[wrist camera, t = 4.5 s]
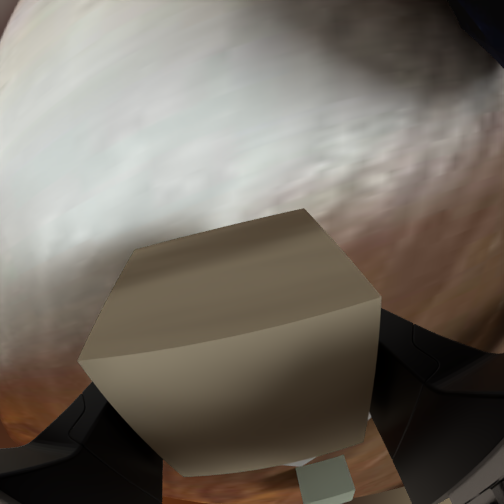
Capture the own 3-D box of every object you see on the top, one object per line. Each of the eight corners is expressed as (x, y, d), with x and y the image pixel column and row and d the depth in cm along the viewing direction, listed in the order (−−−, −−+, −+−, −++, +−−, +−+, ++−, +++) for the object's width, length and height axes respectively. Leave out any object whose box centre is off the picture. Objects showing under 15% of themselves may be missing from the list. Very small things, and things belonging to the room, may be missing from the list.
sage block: (295, 467, 26) (303, 504, 21) (343, 454, 26) (355, 489, 21) (299, 480, 28) (306, 512, 24) (341, 469, 28) (351, 500, 24)
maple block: (134, 249, 9) (77, 361, 4) (304, 208, 9) (381, 297, 5) (188, 368, 11) (183, 476, 7) (320, 338, 11) (363, 441, 7)
